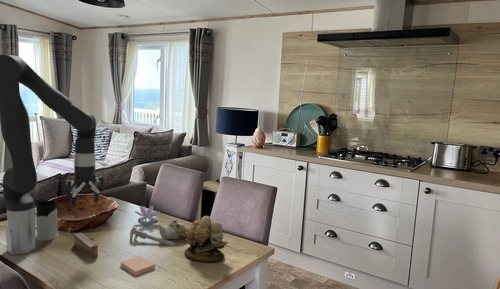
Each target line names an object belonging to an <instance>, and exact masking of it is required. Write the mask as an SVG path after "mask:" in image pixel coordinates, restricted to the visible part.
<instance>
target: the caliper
mask: <svg viewBox="0 0 500 289" xmlns="http://www.w3.org/2000/svg"><path fill="white" fill-rule="evenodd" d="M138 237H139V238H140V239H143V240H146V239H148V240H151V241H154V242H157V243H161V244H164V245H166V246H173V247H175V246H176V243H174V242H173V241H170V240H169V239H168V240H165V239H162V237H157V236H155V235H152V234H148V232H145V231H143V230H140V229H138V227H137V226H136V227H135V226H133V227H132V228H131V229H130V233H129V240H130V241H135V242H136V240H138Z"/></svg>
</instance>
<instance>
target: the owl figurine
mask: <svg viewBox="0 0 500 289" xmlns="http://www.w3.org/2000/svg"><path fill="white" fill-rule="evenodd" d="M186 229H187V228H186ZM186 233H187V239H186V241H187V243H188V244H189V246H188V247H187V248H186V249H185V251H184V253H183V254H184V257H186V258H187V259H189V260H191V261H194V262H199V263H204V264H206V263H207V264H214V263H218V262H222V260H223V259H225V253H223V252H222V250H221V249H224V248H225V246H226V245H227V244H228V241H225V240H224V241H223V239H224V233H223V231H222V223H221V222H220V221H212V219H211V217H210V216H209V215H204V216H203V217H201V219H196V220H193V222H192V224H191V225H190V226H189V227H188V229H187V231H186Z"/></svg>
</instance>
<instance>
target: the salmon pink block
mask: <svg viewBox="0 0 500 289" xmlns="http://www.w3.org/2000/svg"><path fill="white" fill-rule="evenodd" d="M120 267H121V268H123V269H124V270H126V271H128V273H130V274H132V275H133V276H135V277H136V276H139V275H141V274H143V273H147V272H149V271H152V270H155V268H156V264H155V263H153V262H152V261H150V260H148V259H147V258H144V257H142V255H137V256H135V257H132V258H129V259H126V260H123V261H120Z"/></svg>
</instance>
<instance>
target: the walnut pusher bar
mask: <svg viewBox="0 0 500 289" xmlns="http://www.w3.org/2000/svg"><path fill="white" fill-rule="evenodd" d="M73 245H74V247H75V248H76V249H78V250H79V251H80V252H81V253H82V254H84V255H85V256H86V257H87V258H89V259H93V258H97V257H99V252H98V251H99V248H98V247H99V245H98V244H97V243H96V242H95V241H93V240H92V239H91V238H89V237H88V236H87V235H85V234H84V233H82V232H79V233H74V234H73Z"/></svg>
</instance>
